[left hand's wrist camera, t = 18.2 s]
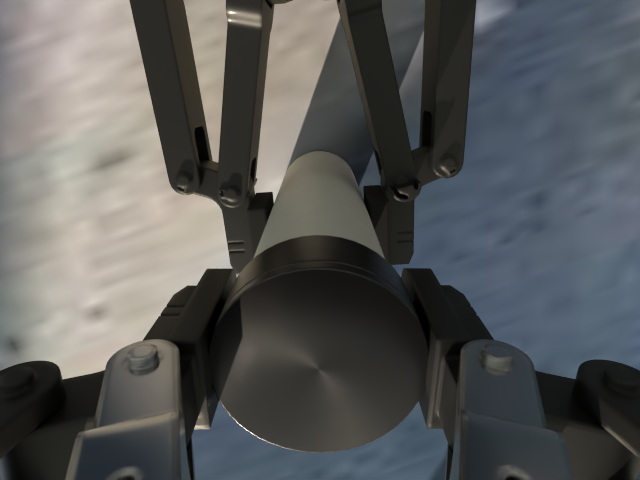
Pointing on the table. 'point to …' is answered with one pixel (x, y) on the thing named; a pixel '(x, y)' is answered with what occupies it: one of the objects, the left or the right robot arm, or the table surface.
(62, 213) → the table surface
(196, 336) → the left robot arm
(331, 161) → the white cylinder
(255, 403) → the lid
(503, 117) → the table surface
